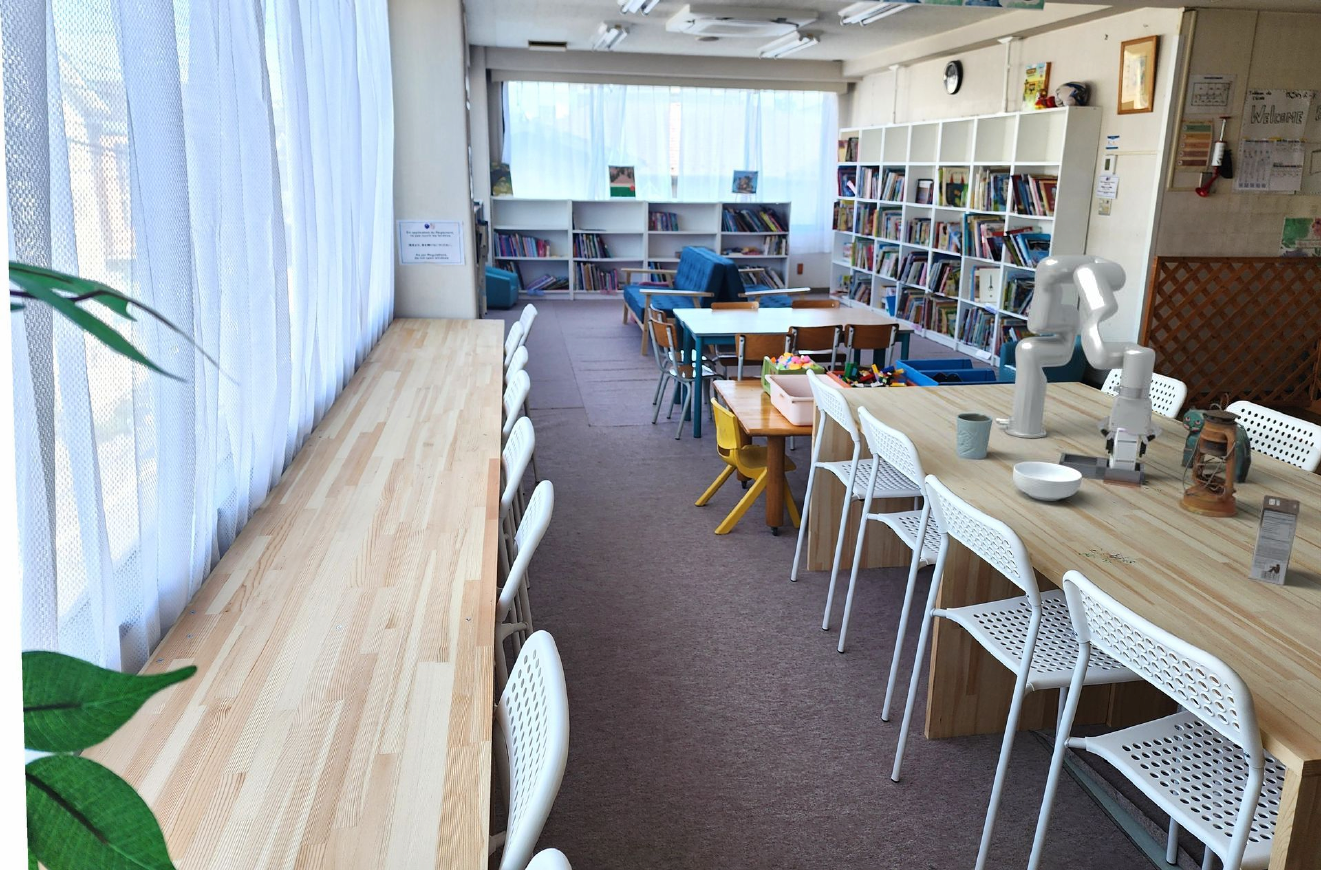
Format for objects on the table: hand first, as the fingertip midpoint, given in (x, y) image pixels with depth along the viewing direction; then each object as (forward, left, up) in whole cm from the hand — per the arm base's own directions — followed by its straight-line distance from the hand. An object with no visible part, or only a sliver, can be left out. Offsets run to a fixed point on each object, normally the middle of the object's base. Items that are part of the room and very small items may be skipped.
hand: (1124, 454), depth 260 cm
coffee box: (+29, -59, -7) cm, 66 cm away
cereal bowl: (-18, -27, -7) cm, 33 cm away
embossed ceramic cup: (-41, +2, -7) cm, 42 cm away
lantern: (+20, -18, -7) cm, 28 cm away
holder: (-5, -2, -7) cm, 9 cm away
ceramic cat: (+23, +16, -7) cm, 29 cm away
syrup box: (0, 0, -7) cm, 7 cm away
